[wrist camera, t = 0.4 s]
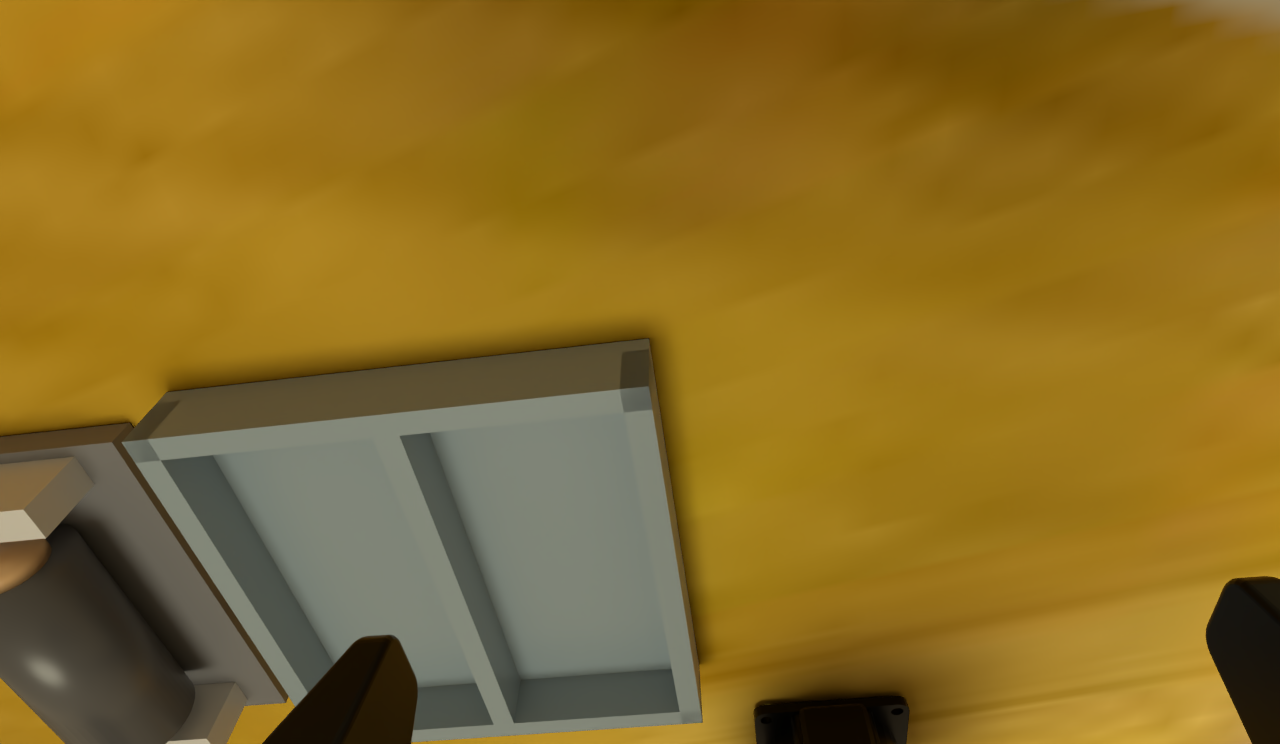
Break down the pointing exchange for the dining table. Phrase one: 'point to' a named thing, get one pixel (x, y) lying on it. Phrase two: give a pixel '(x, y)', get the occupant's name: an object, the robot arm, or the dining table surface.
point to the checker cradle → (137, 563)
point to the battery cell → (84, 647)
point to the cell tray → (448, 532)
